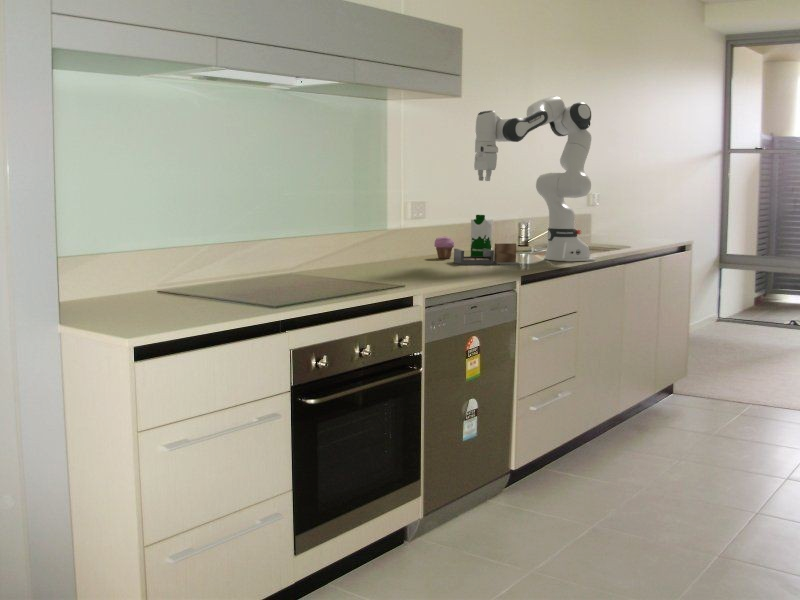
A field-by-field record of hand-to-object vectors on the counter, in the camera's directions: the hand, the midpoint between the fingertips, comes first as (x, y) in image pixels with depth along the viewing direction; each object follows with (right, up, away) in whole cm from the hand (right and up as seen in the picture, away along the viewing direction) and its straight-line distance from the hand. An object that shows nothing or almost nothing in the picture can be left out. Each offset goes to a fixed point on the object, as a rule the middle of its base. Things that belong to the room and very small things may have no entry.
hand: (484, 180), depth 384 cm
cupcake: (-17, -33, +15) cm, 40 cm away
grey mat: (+9, -36, -3) cm, 37 cm away
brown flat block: (+9, -35, -3) cm, 37 cm away
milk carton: (0, -34, +13) cm, 36 cm away
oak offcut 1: (-8, -37, -9) cm, 39 cm away
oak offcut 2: (-2, -37, -8) cm, 38 cm away
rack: (-5, -36, -6) cm, 37 cm away
